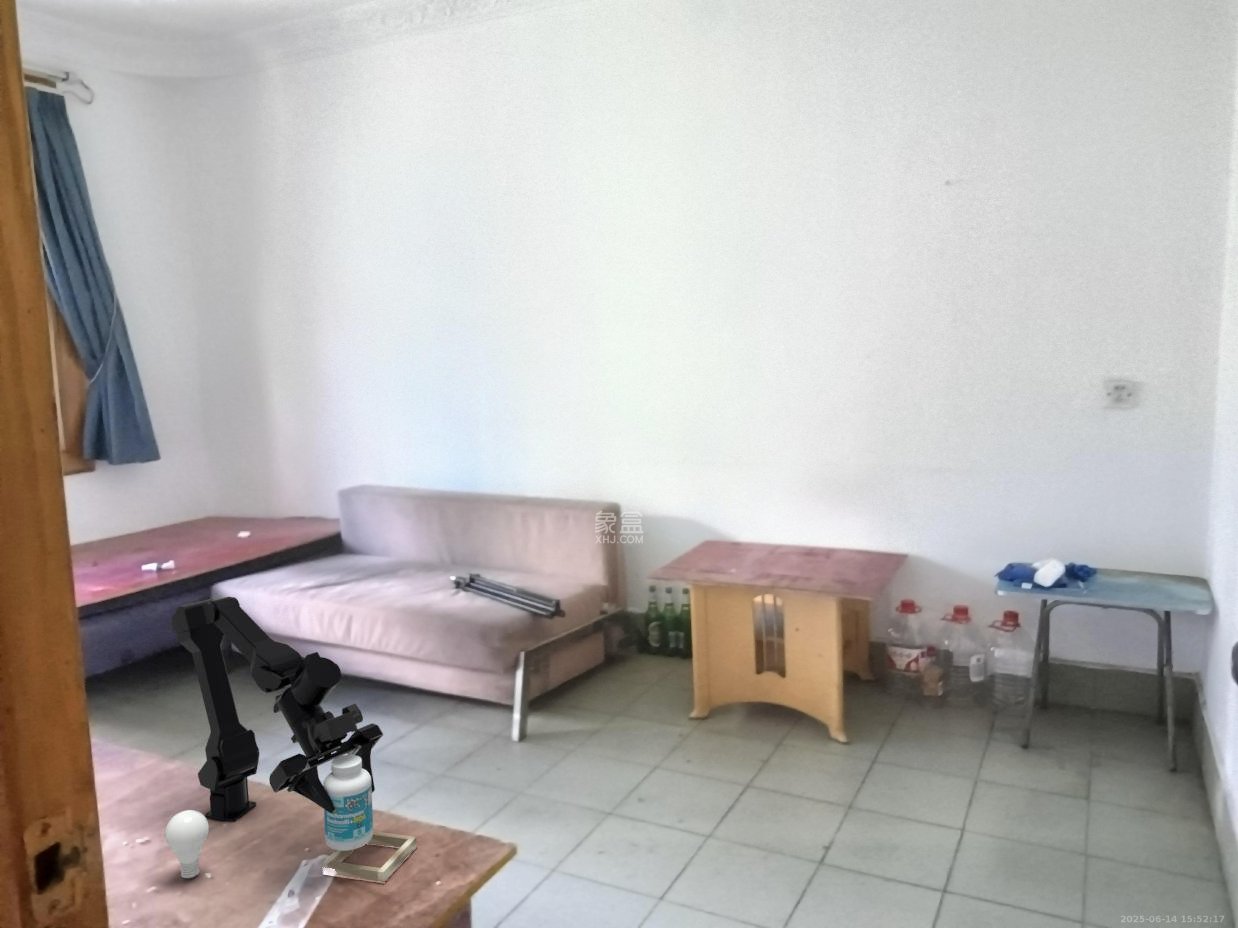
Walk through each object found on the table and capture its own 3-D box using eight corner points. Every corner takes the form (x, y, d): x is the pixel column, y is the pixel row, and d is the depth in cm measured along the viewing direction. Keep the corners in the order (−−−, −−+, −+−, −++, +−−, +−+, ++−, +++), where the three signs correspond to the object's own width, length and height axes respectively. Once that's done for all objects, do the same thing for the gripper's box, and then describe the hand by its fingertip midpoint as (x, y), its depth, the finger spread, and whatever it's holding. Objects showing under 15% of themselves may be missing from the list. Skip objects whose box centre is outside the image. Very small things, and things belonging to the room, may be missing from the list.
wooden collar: (358, 839, 158) (358, 829, 158) (416, 847, 155) (416, 836, 155) (322, 874, 148) (321, 863, 148) (383, 884, 145) (383, 872, 145)
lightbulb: (170, 870, 150) (165, 806, 148) (213, 862, 152) (208, 799, 151) (166, 891, 144) (161, 825, 143) (211, 883, 146) (206, 817, 145)
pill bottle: (322, 854, 144) (318, 773, 142) (329, 830, 151) (324, 752, 150) (371, 850, 145) (367, 769, 144) (375, 826, 153) (372, 748, 151)
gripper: (275, 712, 140) (324, 801, 135) (373, 676, 155) (421, 755, 150) (249, 748, 146) (294, 835, 141) (346, 710, 161) (390, 787, 156)
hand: (353, 801), depth 147 cm, fingers closed on pill bottle, 7 cm apart
